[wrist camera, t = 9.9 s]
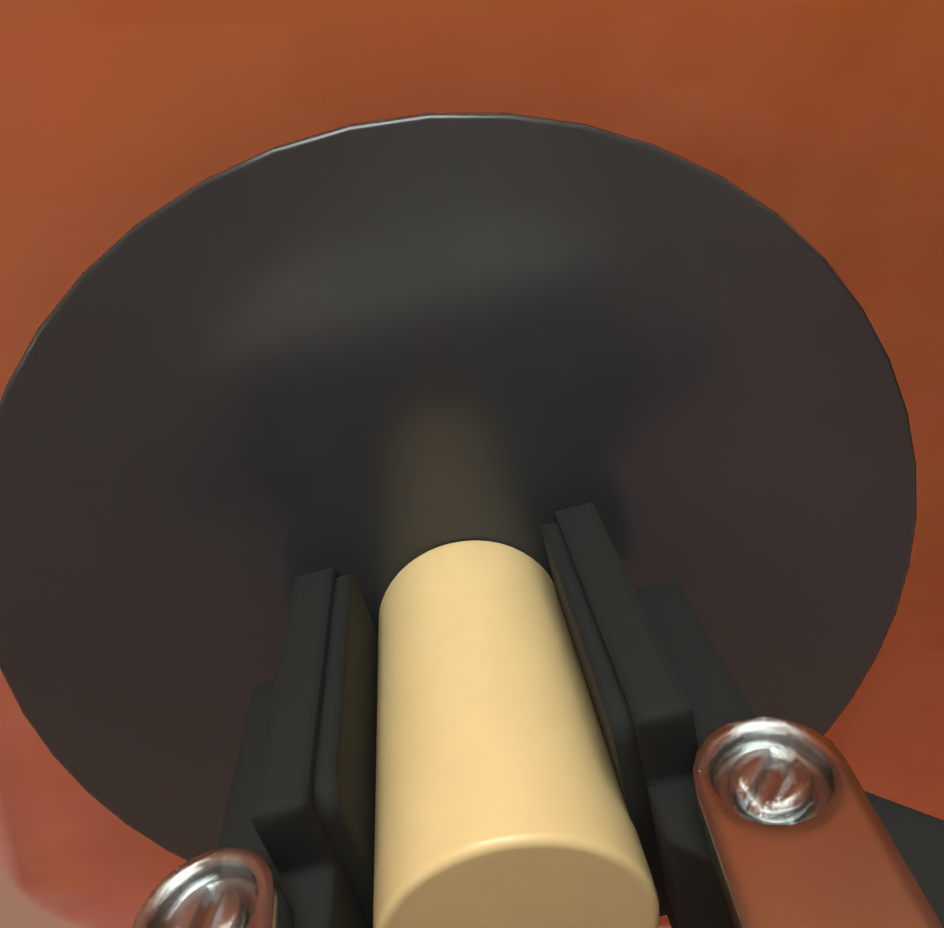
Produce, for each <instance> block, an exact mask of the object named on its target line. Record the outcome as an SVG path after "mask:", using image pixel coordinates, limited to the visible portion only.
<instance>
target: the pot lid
mask: <svg viewBox="0 0 944 928" xmlns="http://www.w3.org/2000/svg"><path fill="white" fill-rule="evenodd" d="M587 503H593V505H594V506H595V508H596V510H597V512H598V515H599V517H600V519H601V521H602V523H603V525H604V527H605V529H606V531H607V533H608V535H609V537H610V539H611V541H612V543H613V545H614V548H615V550H616V552H617V554H618V556H619V558H620V560H621V562H622V564H623V566H624V568H625V570H626V572H627V574H628V576H629V578H630V581H631V583H632V585H633V587H634V589H638V588H642V587H646V586H650V585H654V584H658V583H662V582H666V581H670V580H675V581H676V582H677V583H678V584H679V586H680V587H681V589H682V590H683V592H684V594H685V596H686V597H687V599H688V601H689V602H690V604H691V606H692V608H693V609H694V611H695V613H696V615H697V616H698V618H699V620H700V622H701V623H702V625H703V627H704V628H705V630H706V632H707V634H708V635H709V637H710V639H711V641H712V642H713V644H714V646H715V647H716V649H717V651H718V653H719V654H720V656H721V658H722V660H723V661H724V663H725V665H726V667H727V668H728V670H729V672H730V673H731V675H732V677H733V679H734V680H735V682H736V684H737V686H738V687H739V689H740V691H741V692H742V694H743V696H744V698H745V699H746V701H747V703H748V705H749V706H750V708H751V710H752V712H753V713H754V715H755V717H773V718H779V719H786V720H791V721H794V722H796V723H799V724H801V725H804V726H807V727H809V728H812V729H814V730H815V731H816V732H818V733H819V734H821V735H822V736H824V735H825V733H826V732H827V731H828V730H829V728H830V727H831V726H832V724H833V723H834V722H835V720H836V719H837V718H838V716H839V715H840V714H841V712H842V711H843V710H844V708H845V707H846V706H847V705H848V703H849V702H850V701H851V699H852V698H853V696H854V694H855V693H856V691H857V689H858V688H859V686H860V684H861V682H862V681H863V679H864V677H865V676H866V674H867V672H868V671H869V669H870V667H871V666H872V664H873V662H874V660H875V659H876V657H877V655H878V652H879V650H880V648H881V646H882V643H883V641H884V639H885V636H886V634H887V632H888V629H889V627H890V625H891V623H892V620H893V618H894V616H895V613H896V610H897V607H898V603H899V600H900V596H901V593H902V589H903V586H904V582H905V579H906V576H907V572H908V569H909V565H910V557H911V550H912V543H913V536H914V529H915V522H916V462H915V456H914V450H913V444H912V438H911V432H910V425H909V419H908V413H907V410H906V407H905V404H904V401H903V398H902V395H901V392H900V389H899V386H898V383H897V380H896V377H895V374H894V371H893V368H892V365H891V362H890V359H889V357H888V355H887V353H886V351H885V349H884V348H883V346H882V344H881V342H880V340H879V338H878V336H877V334H876V332H875V331H874V329H873V327H872V325H871V323H870V321H869V319H868V317H867V316H866V314H865V312H864V310H863V308H862V306H861V305H860V304H859V302H858V301H857V300H856V299H855V297H854V296H853V295H852V293H851V292H850V291H849V289H848V288H847V287H846V285H845V284H844V283H843V282H842V280H841V279H840V278H839V276H838V275H837V274H836V272H835V271H834V270H833V268H832V267H831V266H830V265H829V263H828V262H827V261H826V259H825V258H824V257H823V256H822V255H821V254H820V253H818V252H817V251H816V250H815V249H814V248H813V247H812V246H811V245H810V244H809V243H808V242H807V241H806V240H805V239H804V238H803V237H801V236H800V235H799V234H798V233H797V232H796V231H795V230H794V229H793V228H792V227H791V226H790V225H789V224H788V223H787V222H786V221H784V220H783V219H782V218H781V217H780V216H779V215H778V214H777V213H775V212H774V211H772V210H771V209H769V208H768V207H766V206H765V205H763V204H762V203H760V202H759V201H757V200H756V199H754V198H753V197H752V196H750V195H749V194H747V193H746V192H744V191H743V190H741V189H740V188H738V187H737V186H735V185H734V184H732V183H731V182H729V181H728V180H726V179H725V178H724V177H722V176H720V175H718V174H716V173H714V172H711V171H709V170H707V169H705V168H703V167H701V166H699V165H697V164H694V163H692V162H690V161H688V160H686V159H684V158H682V157H680V156H677V155H675V154H673V153H671V152H669V151H667V150H665V149H663V148H661V147H658V146H656V145H652V144H649V143H646V142H642V141H639V140H636V139H632V138H629V137H625V136H622V135H619V134H615V133H612V132H609V131H605V130H602V129H599V128H595V127H592V126H589V125H585V124H580V123H574V122H567V121H560V120H553V119H546V118H539V117H532V116H525V115H518V114H511V113H505V112H471V113H421V114H414V115H408V116H401V117H394V118H387V119H380V120H374V121H367V122H360V123H353V124H349V125H345V126H342V127H339V128H335V129H332V130H328V131H325V132H322V133H318V134H315V135H312V136H308V137H305V138H302V139H298V140H295V141H292V142H288V143H285V144H281V145H278V146H275V147H273V148H271V149H269V150H267V151H265V152H263V153H260V154H258V155H256V156H254V157H252V158H250V159H248V160H245V161H243V162H241V163H239V164H237V165H235V166H232V167H230V168H228V169H226V170H224V171H222V172H220V173H217V174H215V175H213V176H211V177H209V178H207V179H205V180H203V181H201V182H199V183H198V184H196V185H195V186H193V187H192V188H190V189H189V190H187V191H186V192H184V193H183V194H181V195H180V196H178V197H177V198H175V199H174V200H172V201H171V202H169V203H168V204H166V205H165V206H163V207H162V208H160V209H159V210H157V211H156V212H154V213H153V214H151V215H150V216H148V217H146V218H145V219H143V220H142V221H140V222H139V223H137V224H136V225H135V226H134V227H133V228H132V229H131V230H130V231H128V232H127V233H126V234H125V235H124V236H123V237H122V238H121V239H120V240H119V241H117V242H116V243H115V244H114V245H113V246H112V247H111V248H110V249H109V250H108V251H106V252H105V253H104V254H103V255H102V256H101V257H100V258H99V259H98V260H96V261H95V262H94V263H93V264H92V265H91V266H90V267H89V268H88V269H87V270H85V271H84V272H83V273H82V274H81V276H80V277H79V278H78V279H77V281H76V282H75V283H74V284H73V286H72V287H71V288H70V289H69V291H68V292H67V293H66V294H65V296H64V297H63V298H62V299H61V301H60V302H59V303H58V304H57V306H56V307H55V308H54V309H53V311H52V312H51V313H50V314H49V316H48V317H47V318H46V319H45V321H44V322H43V323H42V324H41V326H40V327H39V328H38V330H37V332H36V334H35V335H34V337H33V339H32V341H31V342H30V344H29V346H28V348H27V350H26V351H25V353H24V355H23V357H22V358H21V360H20V362H19V364H18V366H17V367H16V369H15V371H14V373H13V374H12V376H11V378H10V380H9V382H8V383H7V385H6V388H5V390H4V393H3V396H2V399H1V402H0V669H1V671H2V673H3V675H4V677H5V679H6V681H7V683H8V685H9V687H10V689H11V690H12V692H13V694H14V696H15V698H16V700H17V702H18V704H19V706H20V708H21V710H22V712H23V714H24V715H25V717H26V718H27V719H28V721H29V722H30V724H31V725H32V726H33V728H34V729H35V731H36V732H37V733H38V735H39V736H40V738H41V739H42V741H43V742H44V743H45V745H46V746H47V748H48V749H49V750H50V752H51V753H52V755H53V756H54V757H55V758H56V759H57V760H58V761H59V762H60V763H61V764H62V765H63V766H64V767H65V769H66V770H67V771H68V772H69V773H70V774H71V775H72V776H73V777H74V778H75V779H76V780H77V781H78V782H79V784H80V785H81V786H82V787H83V788H84V789H85V790H86V791H87V792H88V793H89V794H91V795H92V796H93V797H94V798H95V799H97V800H98V801H99V802H100V803H101V804H103V805H104V806H105V807H106V808H107V809H109V810H110V811H111V812H112V813H113V814H115V815H116V816H117V817H118V818H119V819H121V820H122V821H123V822H124V823H126V824H127V825H129V826H130V827H132V828H133V829H135V830H136V831H138V832H139V833H141V834H142V835H144V836H146V837H147V838H149V839H150V840H152V841H153V842H155V843H156V844H158V845H159V846H161V847H162V848H164V849H166V850H167V851H169V852H171V853H173V854H175V855H177V856H179V857H181V858H183V859H185V860H187V861H188V860H190V859H191V858H194V857H196V856H198V855H201V854H203V853H205V852H208V851H210V850H213V849H217V847H218V843H219V838H220V834H221V830H222V825H223V821H224V816H225V812H226V807H227V803H228V798H229V794H230V789H231V785H232V780H233V776H234V771H235V767H236V762H237V758H238V754H239V749H240V745H241V740H242V736H243V731H244V727H245V722H246V718H247V713H248V709H249V704H250V700H251V696H252V693H253V690H254V687H255V686H257V685H258V684H259V683H262V682H266V681H270V680H274V679H276V678H277V672H278V667H279V662H280V656H281V651H282V646H283V640H284V635H285V630H286V624H287V619H288V614H289V609H290V603H291V598H292V593H293V587H294V582H295V579H296V577H298V576H302V575H306V574H310V573H314V572H317V571H321V570H325V569H329V568H333V567H336V568H338V570H339V571H340V573H341V575H342V576H344V575H348V574H352V573H353V574H354V575H355V577H356V579H357V581H358V584H359V587H360V589H361V592H362V595H363V598H364V600H365V603H366V606H367V609H368V611H369V614H370V617H371V620H372V622H373V625H374V628H375V631H376V633H377V636H378V679H377V734H376V789H375V844H374V900H373V928H658V923H659V915H660V908H659V898H658V894H657V890H656V887H655V884H654V881H653V878H652V875H651V872H650V869H649V866H648V863H647V860H646V857H645V854H644V851H643V848H642V845H641V842H640V839H639V836H638V833H637V831H636V828H635V826H634V824H633V822H632V821H631V819H630V816H629V813H628V810H627V807H626V804H625V801H624V798H623V795H622V792H621V789H620V786H619V783H618V780H617V777H616V774H615V771H614V768H613V764H612V761H611V758H610V755H609V752H608V749H607V746H606V743H605V740H604V737H603V734H602V731H601V728H600V725H599V722H598V719H597V716H596V713H595V710H594V706H593V703H592V700H591V697H590V694H589V691H588V688H587V685H586V682H585V679H584V676H583V673H582V670H581V667H580V664H579V661H578V658H577V655H576V652H575V649H574V645H573V642H572V639H571V636H570V633H569V630H568V627H567V624H566V621H565V618H564V615H563V612H562V609H561V606H560V603H559V600H558V597H557V594H556V590H555V586H554V581H553V577H552V573H551V568H550V564H549V559H548V555H547V550H546V546H545V542H544V537H543V533H542V527H541V526H542V525H546V524H550V523H554V522H555V520H554V512H555V511H559V510H563V509H567V508H571V507H575V506H579V505H583V504H587Z"/></svg>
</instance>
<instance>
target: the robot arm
mask: <svg viewBox="0 0 944 928" xmlns="http://www.w3.org/2000/svg"><path fill="white" fill-rule="evenodd" d="M554 520H555V522H554V523H550V524H546V525H542V526H541V527H542V533H543V537H544V542H545V546H546V550H547V555H548V559H549V564H550V568H551V573H552V577H553V581H554V586H555V590H556V594H557V597H558V600H559V603H560V606H561V609H562V612H563V615H564V618H565V621H566V624H567V627H568V630H569V633H570V636H571V639H572V642H573V645H574V649H575V652H576V655H577V658H578V661H579V664H580V667H581V670H582V673H583V676H584V679H585V682H586V685H587V688H588V691H589V694H590V697H591V700H592V703H593V706H594V710H595V713H596V716H597V719H598V722H599V725H600V728H601V731H602V734H603V737H604V740H605V743H606V746H607V749H608V752H609V755H610V758H611V761H612V764H613V768H614V771H615V774H616V777H617V780H618V783H619V786H620V789H621V792H622V795H623V798H624V801H625V804H626V807H627V810H628V813H629V816H630V819H631V821H632V822H633V824H634V826H635V828H636V831H637V833H638V836H639V839H640V842H641V845H642V848H643V851H644V854H645V857H646V860H647V863H648V866H649V869H650V872H651V875H652V878H653V881H654V884H655V887H656V890H657V894H658V898H659V908H660V915H659V916H663V915H667V916H668V919H669V922H670V925H671V927H672V928H944V821H943V820H940V819H938V818H935V817H932V816H930V815H927V814H924V813H922V812H919V811H916V810H914V809H911V808H908V807H906V806H903V805H900V804H898V803H895V802H892V801H890V800H887V799H884V798H882V797H879V796H876V795H874V794H871V793H868V792H866V791H864V790H863V788H862V787H861V785H860V783H859V781H858V780H857V778H856V776H855V775H854V773H853V771H852V769H851V768H850V766H849V764H848V762H847V761H846V759H845V758H844V757H843V755H842V754H841V753H840V752H839V751H838V749H837V748H836V747H835V746H834V744H833V743H832V742H831V741H829V740H828V739H826V738H825V737H824V736H822V735H821V734H819V733H818V732H816V731H815V730H814V729H812V728H809V727H807V726H804V725H801V724H799V723H796V722H794V721H791V720H786V719H779V718H773V717H755V715H754V713H753V712H752V710H751V708H750V706H749V705H748V703H747V701H746V699H745V698H744V696H743V694H742V692H741V691H740V689H739V687H738V686H737V684H736V682H735V680H734V679H733V677H732V675H731V673H730V672H729V670H728V668H727V667H726V665H725V663H724V661H723V660H722V658H721V656H720V654H719V653H718V651H717V649H716V647H715V646H714V644H713V642H712V641H711V639H710V637H709V635H708V634H707V632H706V630H705V628H704V627H703V625H702V623H701V622H700V620H699V618H698V616H697V615H696V613H695V611H694V609H693V608H692V606H691V604H690V602H689V601H688V599H687V597H686V596H685V594H684V592H683V590H682V589H681V587H680V586H679V584H678V583H677V582H676V581H675V580H670V581H666V582H662V583H658V584H654V585H650V586H646V587H642V588H638V589H634V587H633V585H632V583H631V581H630V578H629V576H628V574H627V572H626V570H625V568H624V566H623V564H622V562H621V560H620V558H619V556H618V554H617V552H616V550H615V548H614V545H613V543H612V541H611V539H610V537H609V535H608V533H607V531H606V529H605V527H604V525H603V523H602V521H601V519H600V517H599V515H598V512H597V510H596V508H595V506H594V505H593V503H587V504H583V505H579V506H575V507H571V508H567V509H563V510H559V511H555V512H554ZM377 679H378V636H377V633H376V631H375V628H374V625H373V622H372V620H371V617H370V614H369V611H368V609H367V606H366V603H365V600H364V598H363V595H362V592H361V589H360V587H359V584H358V581H357V579H356V577H355V575H354V574H353V573H352V574H348V575H344V576H342V575H341V573H340V571H339V570H338V568H336V567H333V568H329V569H325V570H321V571H317V572H314V573H310V574H306V575H302V576H298V577H296V579H295V582H294V587H293V593H292V598H291V603H290V609H289V614H288V619H287V624H286V630H285V635H284V640H283V646H282V651H281V656H280V662H279V667H278V672H277V678H276V679H274V680H270V681H266V682H262V683H259V684H258V685H257V686H255V687H254V690H253V693H252V696H251V700H250V704H249V709H248V713H247V718H246V722H245V727H244V731H243V736H242V740H241V745H240V749H239V754H238V758H237V762H236V767H235V771H234V776H233V780H232V785H231V789H230V794H229V798H228V803H227V807H226V812H225V816H224V821H223V825H222V830H221V834H220V838H219V843H218V847H217V849H213V850H210V851H208V852H205V853H203V854H201V855H198V856H196V857H194V858H191V859H190V860H188V861H187V862H185V863H184V864H182V865H181V866H180V867H178V868H177V869H175V870H174V871H172V872H171V873H170V874H169V875H168V876H167V877H166V878H165V879H164V880H163V881H162V882H161V883H160V884H159V885H158V886H157V887H156V888H155V889H154V890H153V891H152V892H151V894H150V895H149V897H148V898H147V900H146V901H145V903H144V904H143V906H142V907H141V909H140V910H139V912H138V913H137V916H136V918H135V921H134V923H133V926H132V928H373V900H374V844H375V789H376V734H377Z"/></svg>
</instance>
